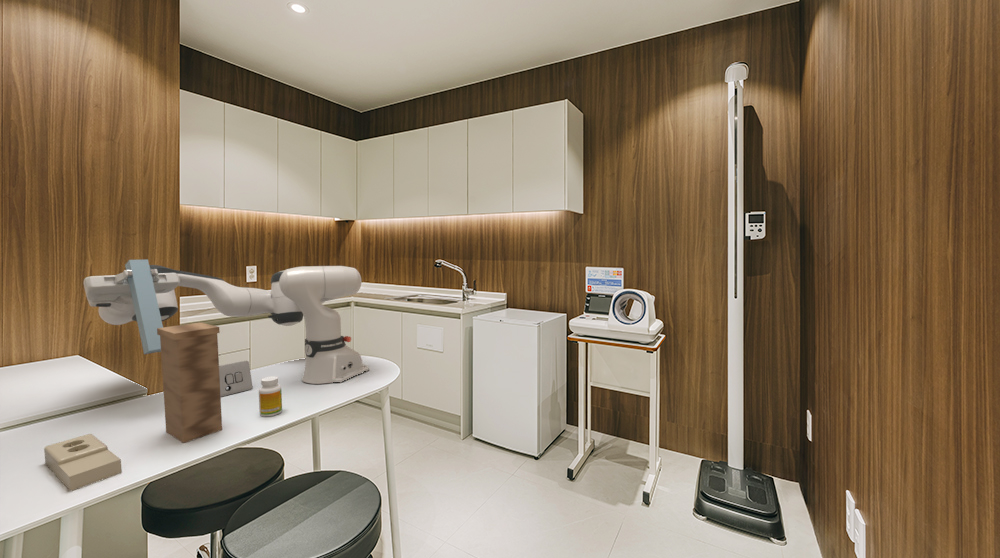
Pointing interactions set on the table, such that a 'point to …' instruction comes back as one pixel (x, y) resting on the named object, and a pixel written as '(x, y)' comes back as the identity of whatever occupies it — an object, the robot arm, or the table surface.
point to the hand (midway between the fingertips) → (141, 271)
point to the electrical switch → (235, 378)
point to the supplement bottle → (270, 397)
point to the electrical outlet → (81, 461)
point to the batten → (145, 305)
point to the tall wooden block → (191, 380)
